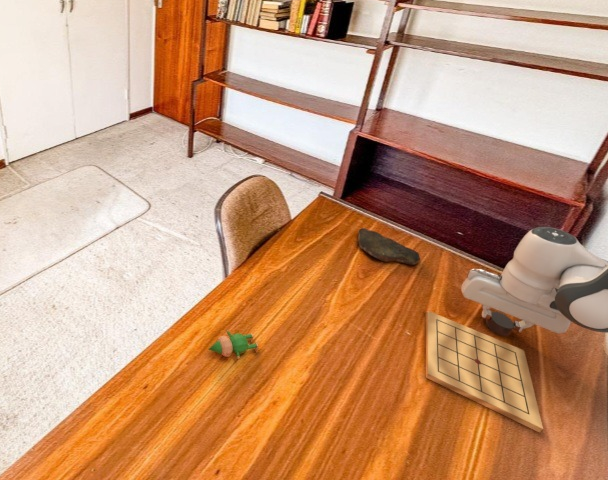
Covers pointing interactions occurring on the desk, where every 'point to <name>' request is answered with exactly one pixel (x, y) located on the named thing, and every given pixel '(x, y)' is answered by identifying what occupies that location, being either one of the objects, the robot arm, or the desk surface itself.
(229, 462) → the desk surface
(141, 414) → the desk surface
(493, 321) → the game stone
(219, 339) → the figurine
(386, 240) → the stone
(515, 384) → the go board
